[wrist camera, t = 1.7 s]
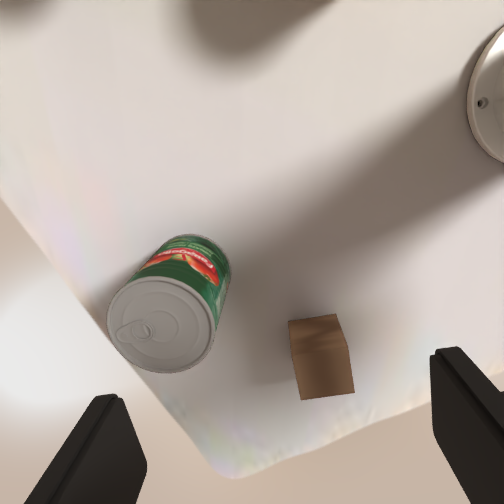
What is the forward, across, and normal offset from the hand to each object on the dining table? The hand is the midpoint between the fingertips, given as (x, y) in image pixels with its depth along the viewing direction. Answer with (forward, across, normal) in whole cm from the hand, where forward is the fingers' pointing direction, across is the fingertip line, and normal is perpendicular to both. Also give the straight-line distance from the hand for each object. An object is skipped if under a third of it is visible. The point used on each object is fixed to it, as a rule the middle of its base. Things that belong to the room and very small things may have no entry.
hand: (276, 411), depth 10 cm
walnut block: (+24, -2, +13) cm, 28 cm away
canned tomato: (+24, +9, +4) cm, 26 cm away
